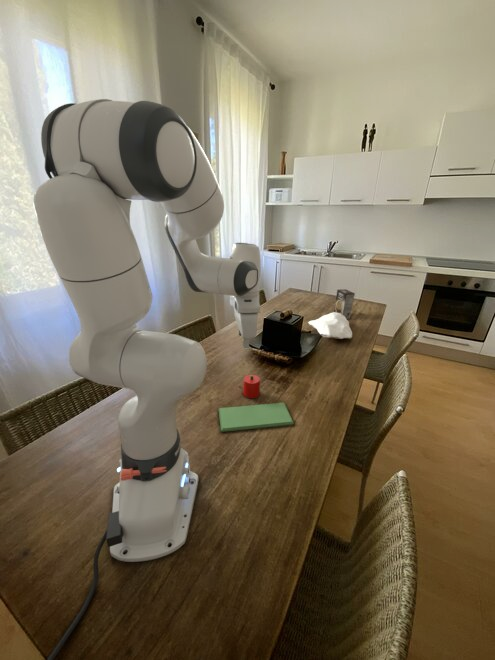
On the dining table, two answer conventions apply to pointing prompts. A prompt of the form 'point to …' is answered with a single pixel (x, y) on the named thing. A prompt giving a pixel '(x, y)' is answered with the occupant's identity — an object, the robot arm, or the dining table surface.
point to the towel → (254, 417)
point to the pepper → (251, 386)
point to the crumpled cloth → (332, 326)
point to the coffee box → (344, 302)
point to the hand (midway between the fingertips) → (243, 340)
